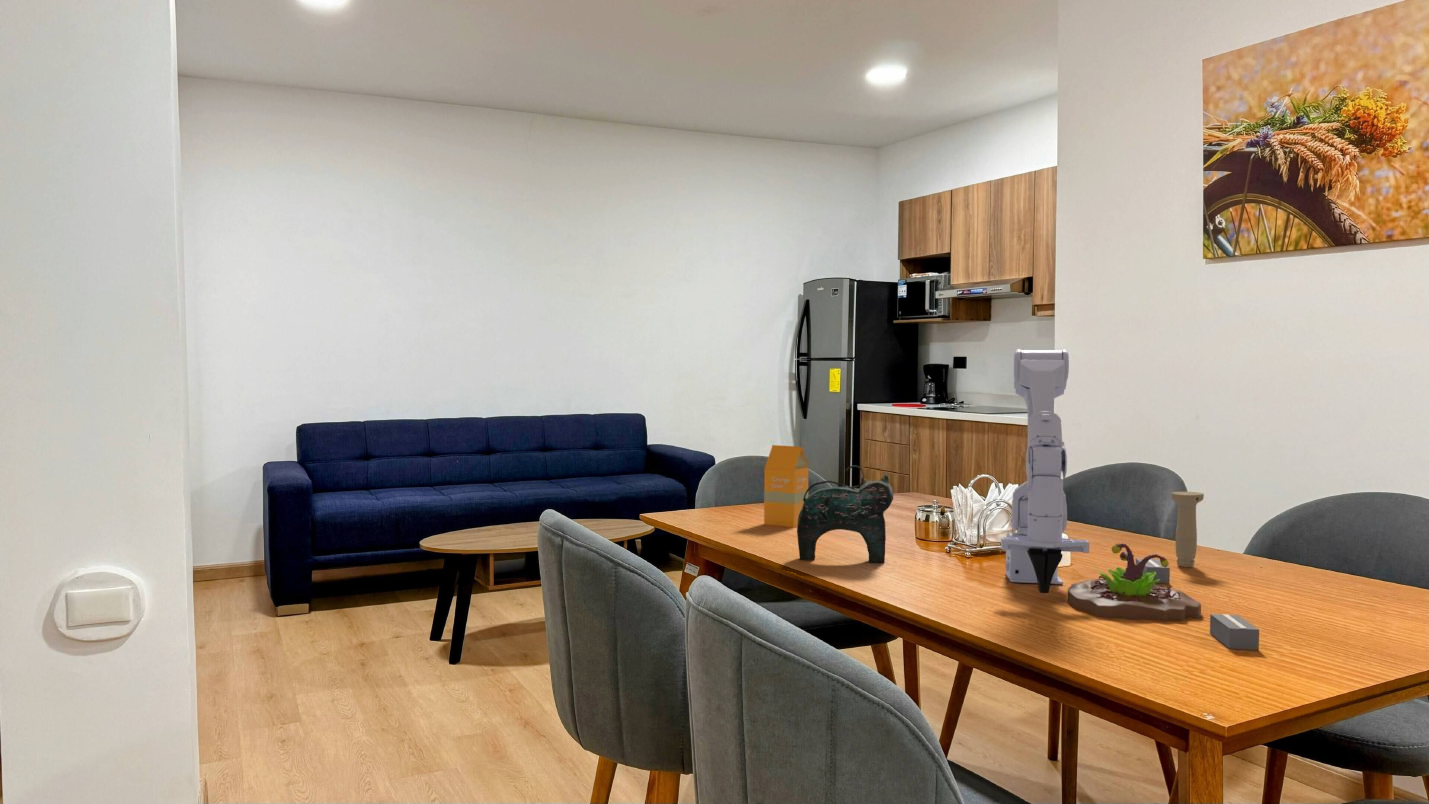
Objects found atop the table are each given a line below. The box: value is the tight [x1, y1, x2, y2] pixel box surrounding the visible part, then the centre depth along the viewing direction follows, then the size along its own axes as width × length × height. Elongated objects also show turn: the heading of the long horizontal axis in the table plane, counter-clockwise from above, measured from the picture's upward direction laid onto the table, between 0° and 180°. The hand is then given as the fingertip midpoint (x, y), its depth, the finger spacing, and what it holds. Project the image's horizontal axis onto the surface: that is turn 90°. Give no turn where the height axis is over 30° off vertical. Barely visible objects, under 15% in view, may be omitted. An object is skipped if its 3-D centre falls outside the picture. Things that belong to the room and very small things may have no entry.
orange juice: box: [763, 444, 810, 528], centre depth 244 cm, size 8×9×20 cm
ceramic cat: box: [796, 465, 894, 564], centre depth 199 cm, size 20×6×20 cm, turn 80°
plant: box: [1067, 542, 1202, 623], centre depth 163 cm, size 20×20×11 cm
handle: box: [1170, 491, 1205, 569], centre depth 194 cm, size 5×6×15 cm
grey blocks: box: [1135, 558, 1260, 651], centre depth 163 cm, size 4×50×3 cm, turn 171°
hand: (1043, 591), depth 167 cm, fingers closed
